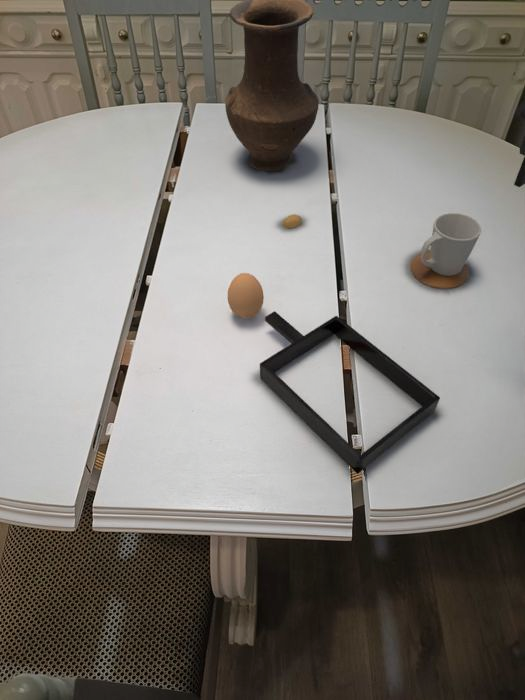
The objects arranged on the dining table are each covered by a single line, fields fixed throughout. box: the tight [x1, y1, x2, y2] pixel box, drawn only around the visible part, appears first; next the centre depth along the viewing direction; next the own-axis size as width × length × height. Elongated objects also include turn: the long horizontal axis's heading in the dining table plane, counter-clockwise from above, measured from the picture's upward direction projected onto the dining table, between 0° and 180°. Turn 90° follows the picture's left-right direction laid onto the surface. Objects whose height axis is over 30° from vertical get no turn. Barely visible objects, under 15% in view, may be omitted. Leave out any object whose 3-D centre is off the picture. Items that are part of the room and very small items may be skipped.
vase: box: [225, 0, 320, 172], centre depth 108 cm, size 19×19×30 cm
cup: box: [419, 212, 482, 276], centre depth 91 cm, size 8×10×8 cm
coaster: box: [409, 250, 470, 290], centre depth 94 cm, size 10×10×1 cm
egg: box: [227, 272, 265, 319], centre depth 85 cm, size 6×6×8 cm
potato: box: [282, 214, 303, 229], centre depth 103 cm, size 3×4×2 cm, turn 118°
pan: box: [259, 311, 441, 474], centre depth 77 cm, size 27×15×4 cm, turn 39°
